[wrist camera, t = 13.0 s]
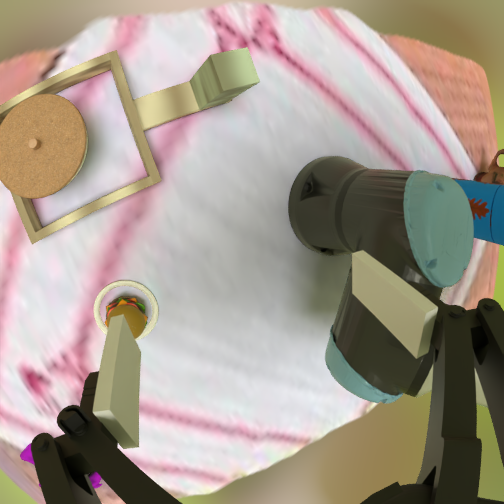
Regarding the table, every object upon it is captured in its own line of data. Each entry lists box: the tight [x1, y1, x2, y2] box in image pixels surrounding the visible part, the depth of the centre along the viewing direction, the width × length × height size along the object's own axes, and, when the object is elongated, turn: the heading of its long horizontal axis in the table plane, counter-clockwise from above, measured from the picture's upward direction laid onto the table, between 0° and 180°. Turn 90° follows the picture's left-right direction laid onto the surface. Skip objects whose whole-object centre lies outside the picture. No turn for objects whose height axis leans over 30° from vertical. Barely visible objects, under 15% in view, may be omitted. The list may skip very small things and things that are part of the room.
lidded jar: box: [0, 94, 88, 199], centre depth 27 cm, size 11×11×9 cm
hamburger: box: [94, 281, 158, 341], centre depth 37 cm, size 12×12×6 cm
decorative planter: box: [474, 149, 504, 185], centre depth 60 cm, size 20×12×14 cm, turn 13°
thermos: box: [452, 178, 504, 246], centre depth 47 cm, size 11×11×25 cm
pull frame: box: [0, 48, 260, 244], centre depth 28 cm, size 29×17×11 cm, turn 110°
